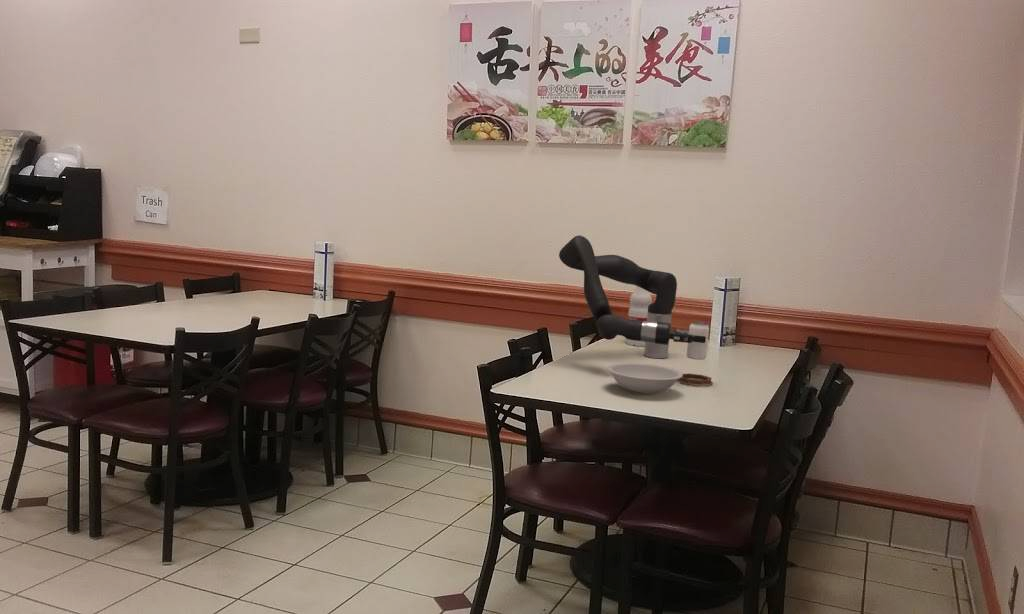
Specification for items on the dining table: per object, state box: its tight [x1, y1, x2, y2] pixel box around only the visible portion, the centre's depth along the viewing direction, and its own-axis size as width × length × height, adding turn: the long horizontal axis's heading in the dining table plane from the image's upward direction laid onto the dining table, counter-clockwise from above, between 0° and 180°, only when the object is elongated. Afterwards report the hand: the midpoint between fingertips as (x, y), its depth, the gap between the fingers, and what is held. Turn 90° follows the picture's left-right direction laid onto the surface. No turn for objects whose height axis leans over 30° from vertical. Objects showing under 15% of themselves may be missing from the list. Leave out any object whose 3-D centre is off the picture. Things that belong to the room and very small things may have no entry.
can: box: [686, 321, 710, 361], centre depth 283 cm, size 6×6×12 cm
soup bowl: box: [606, 362, 684, 394], centre depth 267 cm, size 24×24×7 cm
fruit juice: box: [625, 285, 653, 347], centre depth 351 cm, size 9×9×28 cm
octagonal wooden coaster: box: [676, 373, 714, 387], centre depth 285 cm, size 12×12×2 cm
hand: (705, 338), depth 282 cm, fingers closed on can, 5 cm apart
